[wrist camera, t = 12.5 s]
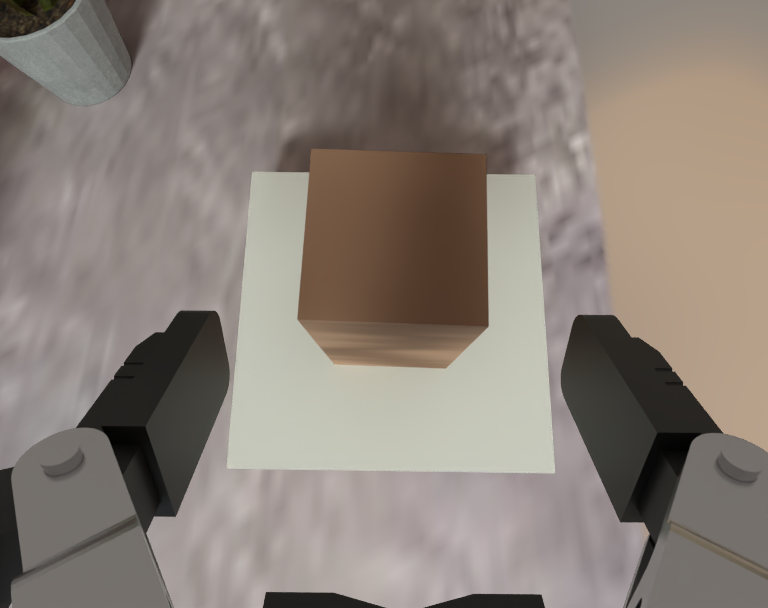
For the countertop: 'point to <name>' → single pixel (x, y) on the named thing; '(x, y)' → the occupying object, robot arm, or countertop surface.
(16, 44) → the house plant
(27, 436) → the countertop surface
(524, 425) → the cream base
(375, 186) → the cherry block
